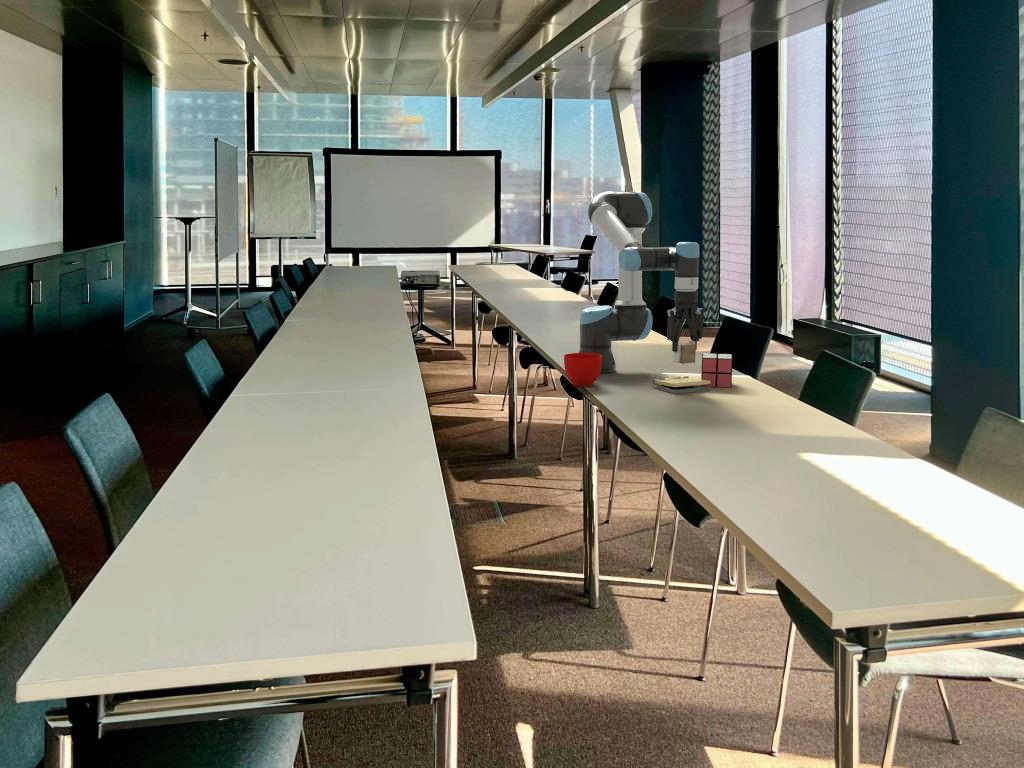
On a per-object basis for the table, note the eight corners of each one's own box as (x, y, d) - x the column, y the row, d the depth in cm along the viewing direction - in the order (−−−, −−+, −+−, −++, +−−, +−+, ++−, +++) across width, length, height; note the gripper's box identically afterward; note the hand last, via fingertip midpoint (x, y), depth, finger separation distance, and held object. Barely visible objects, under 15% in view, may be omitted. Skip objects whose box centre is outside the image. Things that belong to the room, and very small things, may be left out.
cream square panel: (686, 381, 327) (686, 376, 327) (710, 384, 316) (710, 379, 315) (651, 384, 322) (651, 379, 321) (674, 388, 310) (674, 382, 309)
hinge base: (686, 383, 328) (686, 375, 327) (709, 390, 316) (710, 382, 315) (651, 386, 322) (651, 378, 321) (674, 393, 310) (674, 385, 310)
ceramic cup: (608, 380, 333) (609, 352, 331) (596, 389, 317) (597, 359, 315) (572, 378, 337) (572, 350, 335) (558, 387, 321) (559, 357, 319)
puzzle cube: (731, 388, 320) (732, 358, 318) (700, 387, 322) (701, 357, 320) (730, 383, 330) (732, 354, 328) (701, 381, 332) (702, 353, 330)
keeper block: (673, 361, 317) (674, 343, 316) (686, 360, 319) (686, 342, 318) (682, 363, 312) (682, 345, 311) (695, 362, 314) (695, 344, 313)
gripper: (669, 292, 305) (667, 364, 309) (716, 290, 312) (713, 360, 316) (656, 290, 311) (654, 361, 315) (702, 288, 319) (699, 357, 323)
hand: (684, 360), depth 316 cm, fingers closed on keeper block, 5 cm apart
